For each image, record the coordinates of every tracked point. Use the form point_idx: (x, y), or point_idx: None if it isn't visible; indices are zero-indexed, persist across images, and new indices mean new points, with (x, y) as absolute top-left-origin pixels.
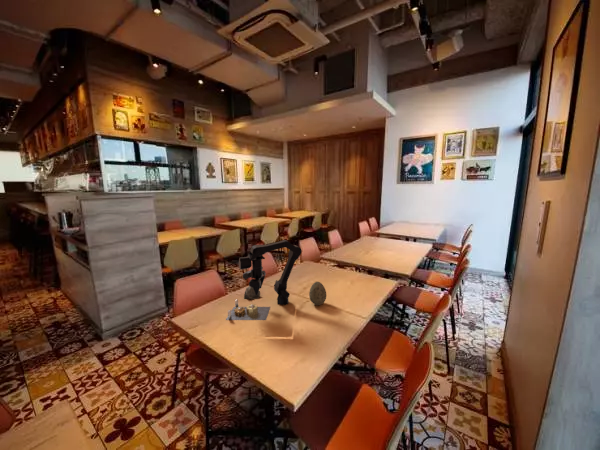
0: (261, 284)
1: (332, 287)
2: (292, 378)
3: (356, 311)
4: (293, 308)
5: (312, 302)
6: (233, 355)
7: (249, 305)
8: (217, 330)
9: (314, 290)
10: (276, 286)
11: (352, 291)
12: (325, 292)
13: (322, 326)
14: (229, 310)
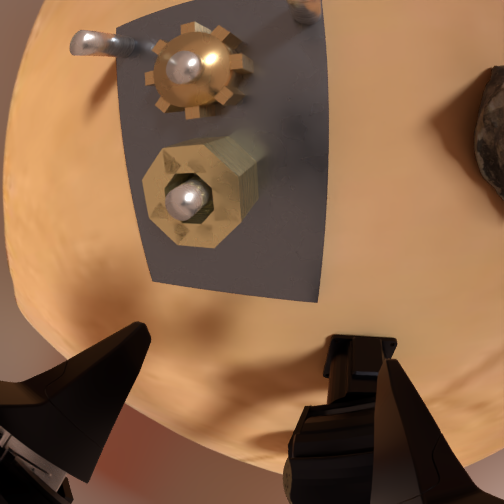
0: (375, 442)
1: None
2: (36, 318)
3: (270, 463)
4: (302, 387)
5: None
6: (9, 195)
7: (209, 164)
8: (63, 50)
9: (289, 491)
10: (330, 470)
11: None
12: None
13: (186, 413)
14: (82, 39)
